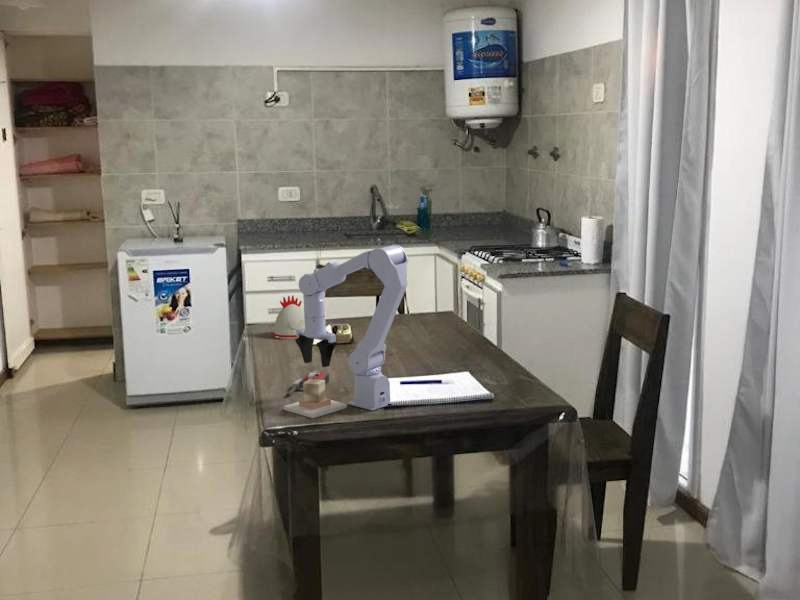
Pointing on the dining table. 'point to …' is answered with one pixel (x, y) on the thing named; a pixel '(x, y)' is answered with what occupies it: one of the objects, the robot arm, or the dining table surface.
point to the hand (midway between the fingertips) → (316, 364)
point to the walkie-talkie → (312, 375)
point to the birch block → (314, 390)
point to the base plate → (315, 412)
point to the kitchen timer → (289, 318)
